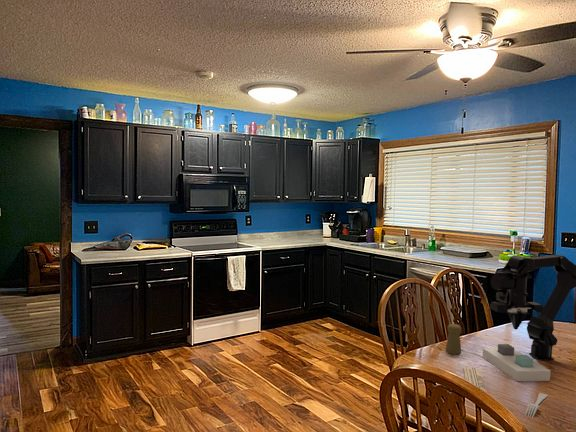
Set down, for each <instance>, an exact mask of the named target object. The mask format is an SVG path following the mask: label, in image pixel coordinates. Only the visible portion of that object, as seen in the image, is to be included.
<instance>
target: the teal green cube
mask: <svg viewBox="0 0 576 432" xmlns="http://www.w3.org/2000/svg"><path fill="white" fill-rule="evenodd" d="M533 361H534V358H532V356H531V357H530V356H529V355H527V354H523V355H516V359H515V363H516V364H517V365H519V366H520V367H533Z"/></svg>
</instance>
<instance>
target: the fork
mask: <svg viewBox="0 0 576 432" xmlns="http://www.w3.org/2000/svg"><path fill="white" fill-rule="evenodd" d="M548 397H549V394H546V393H543V392H539V393H538V396H537V399H536V401H535V403H531V402H529V403H528V404H527V406H526V411H525V416H526V417H529V418H532V419H533V418H534V416H535V414H536V412H537V410H538V409H539V408H540V404H541V402H542V401H544V400H545V399H546V398H548Z"/></svg>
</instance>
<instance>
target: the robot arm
mask: <svg viewBox="0 0 576 432" xmlns="http://www.w3.org/2000/svg"><path fill="white" fill-rule="evenodd" d="M550 267H553V269H554V271H555V272H556V273H557V274H556V275H555V276H556V285H555V287H554V288H553V290H552V292H551V294H550V296H549V297H548V299H547V301H546V303H545V305H544V306H543V304H540V303H538V302H535V301H527V300H526V297H529V293H527V284H528V283H527V282H528V279H532V278H533V276H532V275H531V274H530V273H531V272H533V271H534V270H535V269H540V268H550ZM529 272H530V273H529ZM490 286H491V287H492V289H493V290H495V291H497V292H496V293H495V299H496V301H491V303H490V304H489V305H490V306H489V309H490V310H492V311H494V312H496V313H501V314H502V313H505V314H508V317H509V318H510V321H511V325H512V328H513V330H518V329H519V327H520V326H521V325H522V322H523V321H524V320H525V318H526V317H527V316H529V315H531V314H530V312H528V311H529V310H533V311H534V312H535V313H537V314H539V315H537V316H534V315H532V316H530V319H529V321H528V322H527V323H526V325H527V326H526V331H527V335H528V337H529V339H530V340H532V342H531V347H530V352H528V355H530V356H531V357H533V358H535V359H537V360H538V361H539V360H540V361H554V360H555V357H552V355H553V347H554V346H557V344H558V339H557V337H556V336H555V335H554V329H555V327H554V320H555V319H556V317H557V315H558V313H559V312H560V310H561V308H562V307H563V305H564V302H565V301H566V298H567V296H568V295H569V293H570V291H571V290H573V289H574V288H576V264H575V263H574V262H572V261H571V260H569V259H568V257H566V256H565V255H562V254H552V255H544V256H543V255H541V256H532V257H527V256H520V255H512V256H510V257H509V259H508V260H507V262H506V263H505V266H504V267H503V268H502V270H501V271H495V272H494V274H493V275H492V277H491V279H490ZM504 290H505V291H506V293H503V291H504Z"/></svg>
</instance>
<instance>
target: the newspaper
mask: <svg viewBox="0 0 576 432" xmlns="http://www.w3.org/2000/svg"><path fill="white" fill-rule="evenodd" d="M462 371H463V375H464V380H465V379H466V380H468V381H469V382H471V383H472V384H474V385H476V386H477V387H479V388H481V389H483V390H484V391H486V392H487V387H486V384H485V380H484V378H483V377H484V376H483V372H482V370H481V369H479V368H477V367H471V366H464V367H462ZM487 393H488V392H487Z"/></svg>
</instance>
